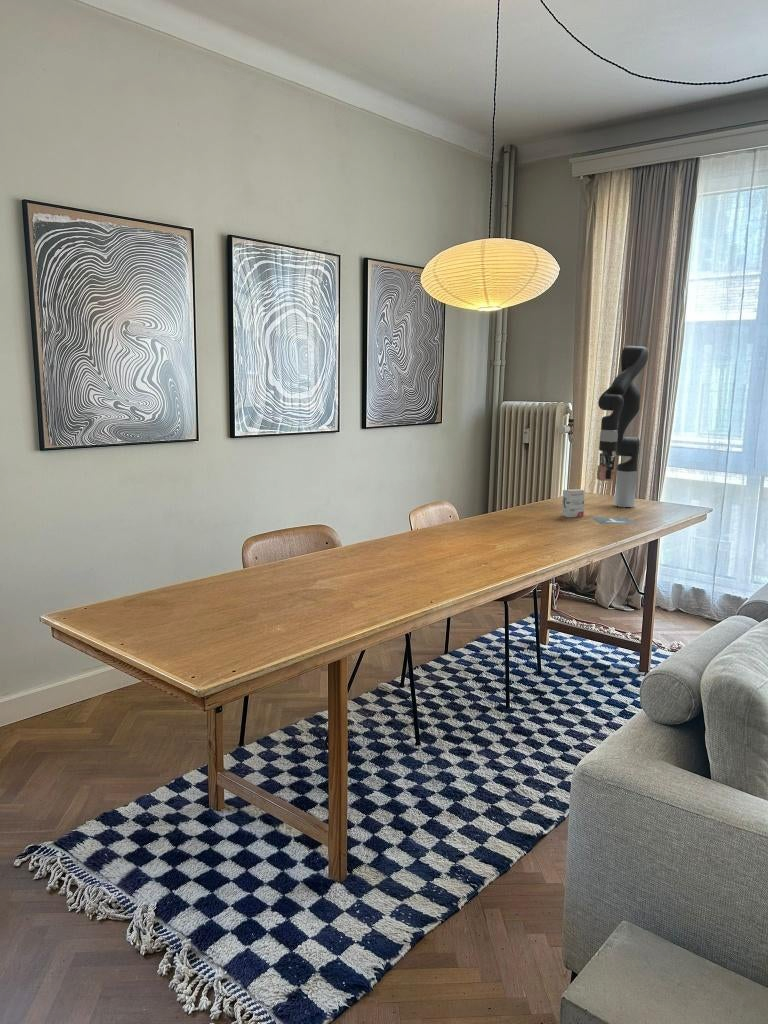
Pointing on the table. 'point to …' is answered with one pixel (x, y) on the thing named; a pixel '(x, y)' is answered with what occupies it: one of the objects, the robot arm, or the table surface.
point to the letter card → (613, 520)
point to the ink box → (573, 503)
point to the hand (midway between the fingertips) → (605, 477)
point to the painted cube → (604, 473)
